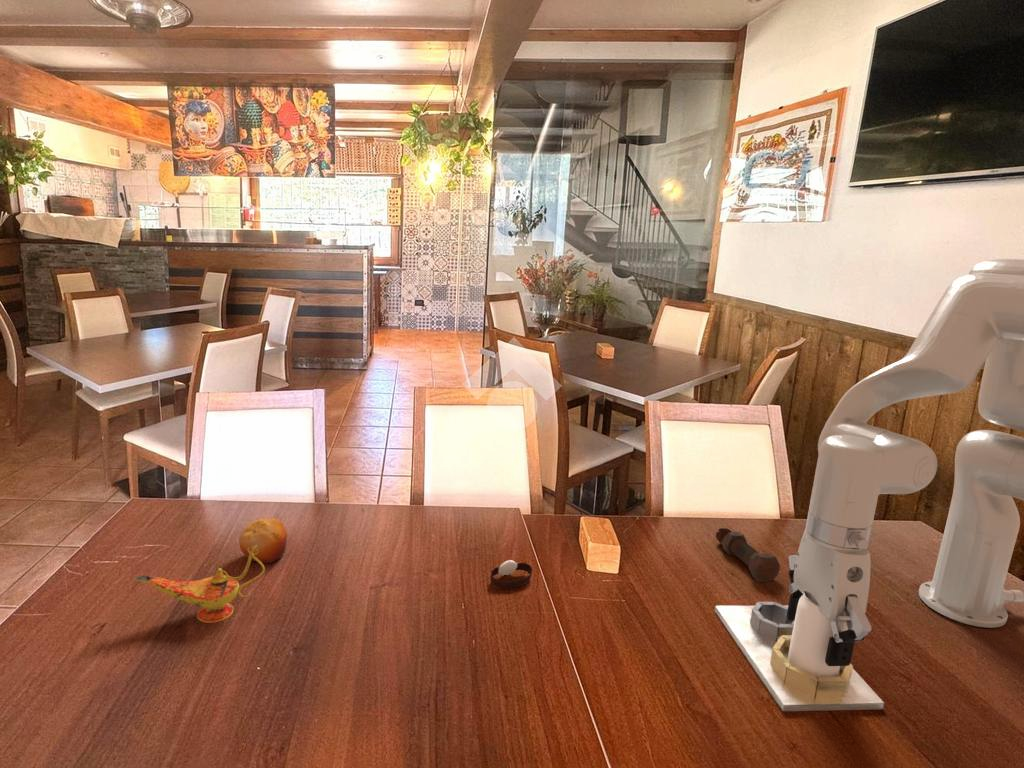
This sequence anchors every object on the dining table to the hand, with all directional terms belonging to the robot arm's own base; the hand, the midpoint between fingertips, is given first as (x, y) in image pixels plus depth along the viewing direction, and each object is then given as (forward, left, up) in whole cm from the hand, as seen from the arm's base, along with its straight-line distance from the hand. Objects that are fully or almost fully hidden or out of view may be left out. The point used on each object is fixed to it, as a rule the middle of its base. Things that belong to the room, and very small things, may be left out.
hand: (816, 640), depth 86 cm
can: (0, 0, -5) cm, 5 cm away
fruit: (+84, -33, -6) cm, 91 cm away
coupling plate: (0, -5, -6) cm, 8 cm away
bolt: (-5, -32, -7) cm, 33 cm away
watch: (+40, -25, -7) cm, 48 cm away
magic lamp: (+88, -16, -6) cm, 90 cm away
